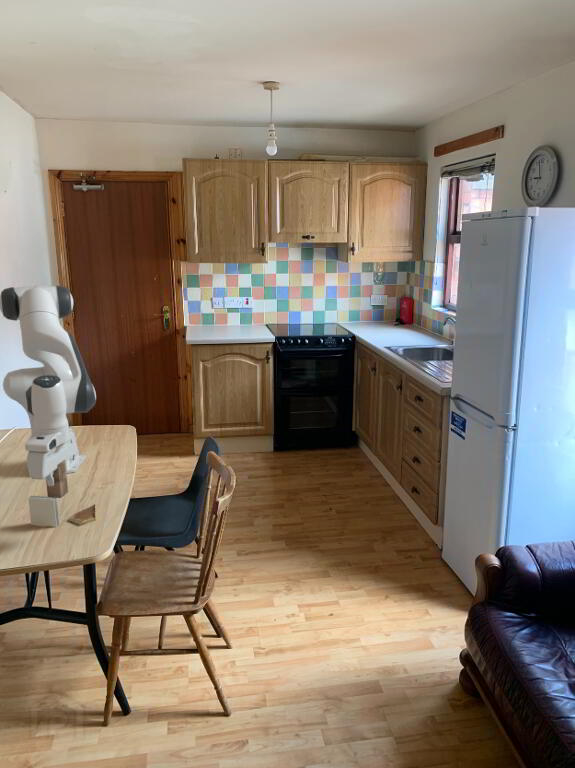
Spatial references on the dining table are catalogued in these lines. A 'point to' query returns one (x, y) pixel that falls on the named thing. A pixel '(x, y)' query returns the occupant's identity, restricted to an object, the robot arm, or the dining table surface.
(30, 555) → the dining table surface
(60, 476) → the walnut block
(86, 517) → the shard
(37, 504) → the slate board
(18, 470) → the dining table surface
